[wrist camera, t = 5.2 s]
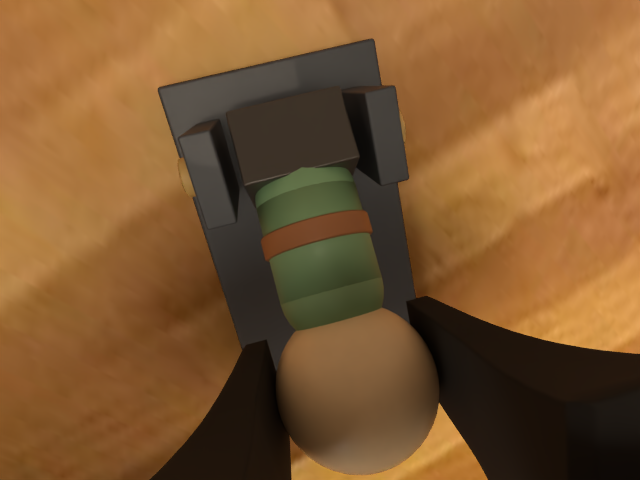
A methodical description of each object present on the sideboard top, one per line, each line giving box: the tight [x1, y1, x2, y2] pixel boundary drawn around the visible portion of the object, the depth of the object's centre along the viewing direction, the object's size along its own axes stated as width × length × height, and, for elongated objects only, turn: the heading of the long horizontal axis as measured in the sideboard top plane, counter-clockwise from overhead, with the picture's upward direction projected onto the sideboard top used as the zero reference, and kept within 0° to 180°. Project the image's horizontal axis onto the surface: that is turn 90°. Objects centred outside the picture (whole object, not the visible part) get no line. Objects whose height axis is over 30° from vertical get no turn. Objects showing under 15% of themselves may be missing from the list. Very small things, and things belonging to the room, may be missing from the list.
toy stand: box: [158, 39, 416, 372], centre depth 15 cm, size 12×7×5 cm, turn 12°
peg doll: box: [226, 86, 440, 475], centre depth 12 cm, size 4×4×10 cm
